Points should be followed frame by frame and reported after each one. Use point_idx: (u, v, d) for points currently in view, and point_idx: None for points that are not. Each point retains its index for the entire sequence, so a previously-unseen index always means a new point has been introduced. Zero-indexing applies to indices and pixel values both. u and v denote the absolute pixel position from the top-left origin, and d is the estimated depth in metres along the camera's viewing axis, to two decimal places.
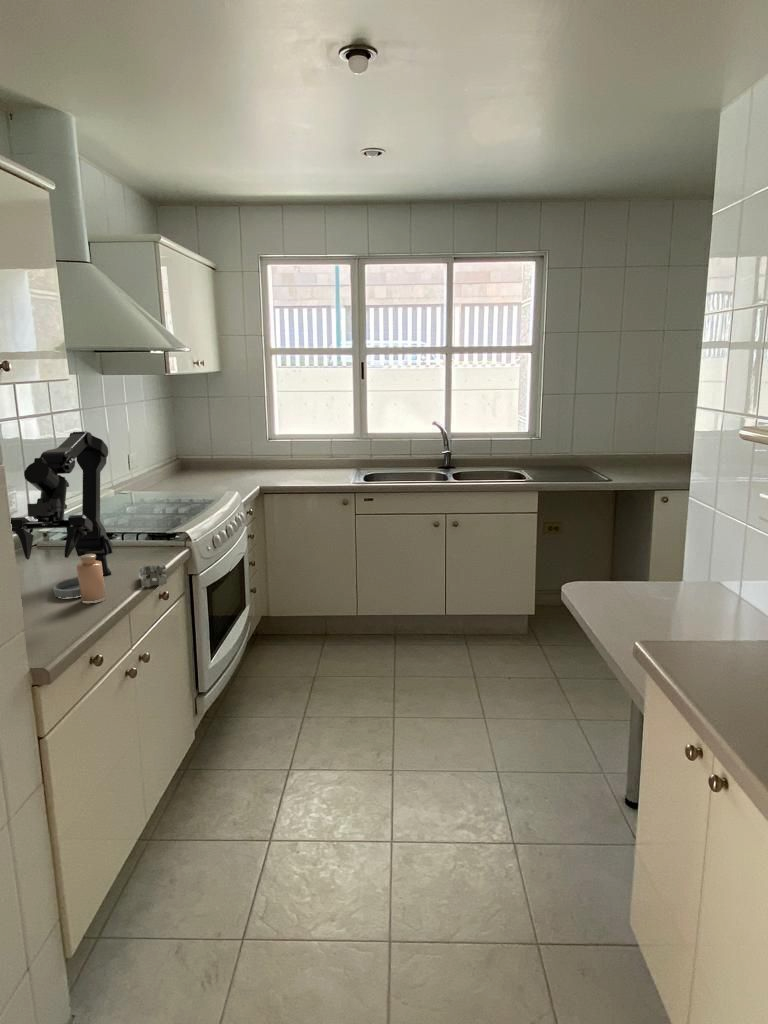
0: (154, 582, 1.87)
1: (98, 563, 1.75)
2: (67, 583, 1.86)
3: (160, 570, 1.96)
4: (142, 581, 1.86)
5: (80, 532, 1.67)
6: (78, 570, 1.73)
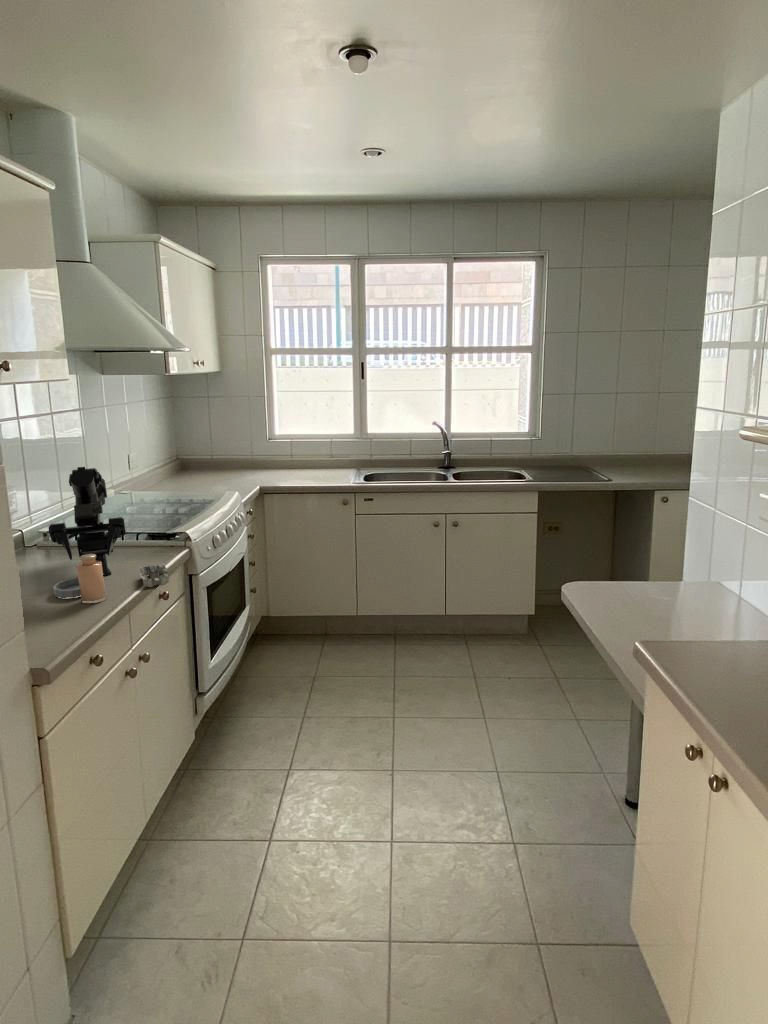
0: (157, 582, 1.88)
1: (98, 563, 1.75)
2: (67, 583, 1.86)
3: (160, 570, 1.96)
4: (144, 581, 1.86)
5: (117, 534, 1.84)
6: (78, 570, 1.73)
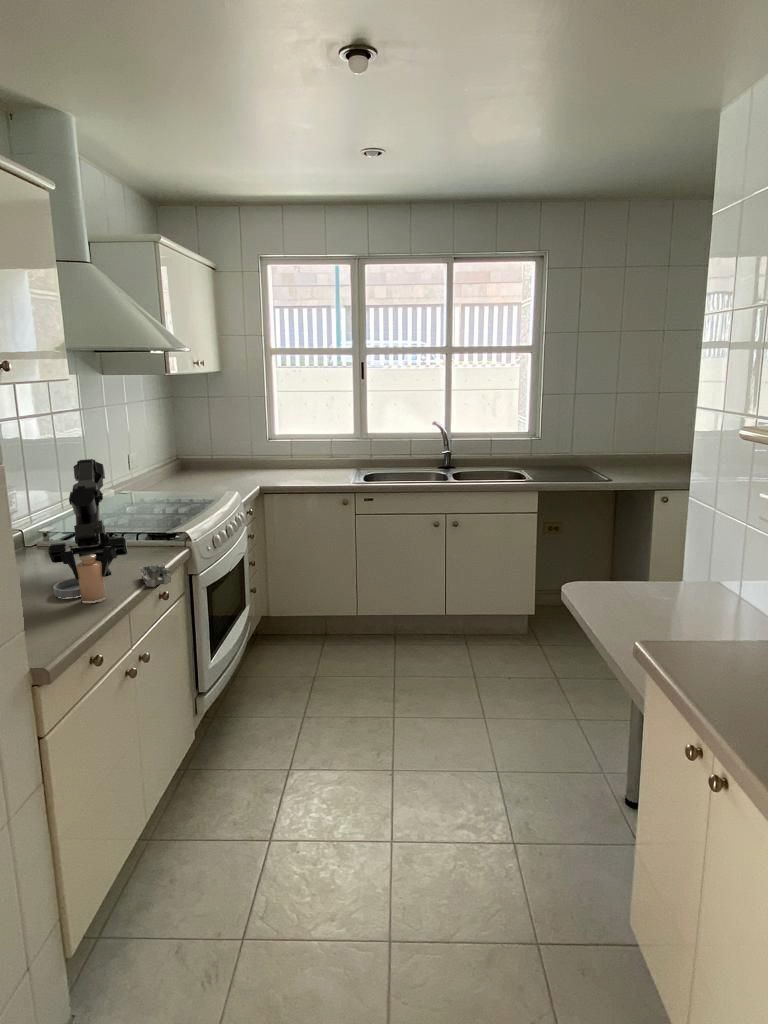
0: (159, 581, 1.88)
1: (98, 563, 1.75)
2: (67, 583, 1.86)
3: (159, 570, 1.96)
4: (147, 581, 1.86)
5: (113, 554, 1.80)
6: (78, 570, 1.73)
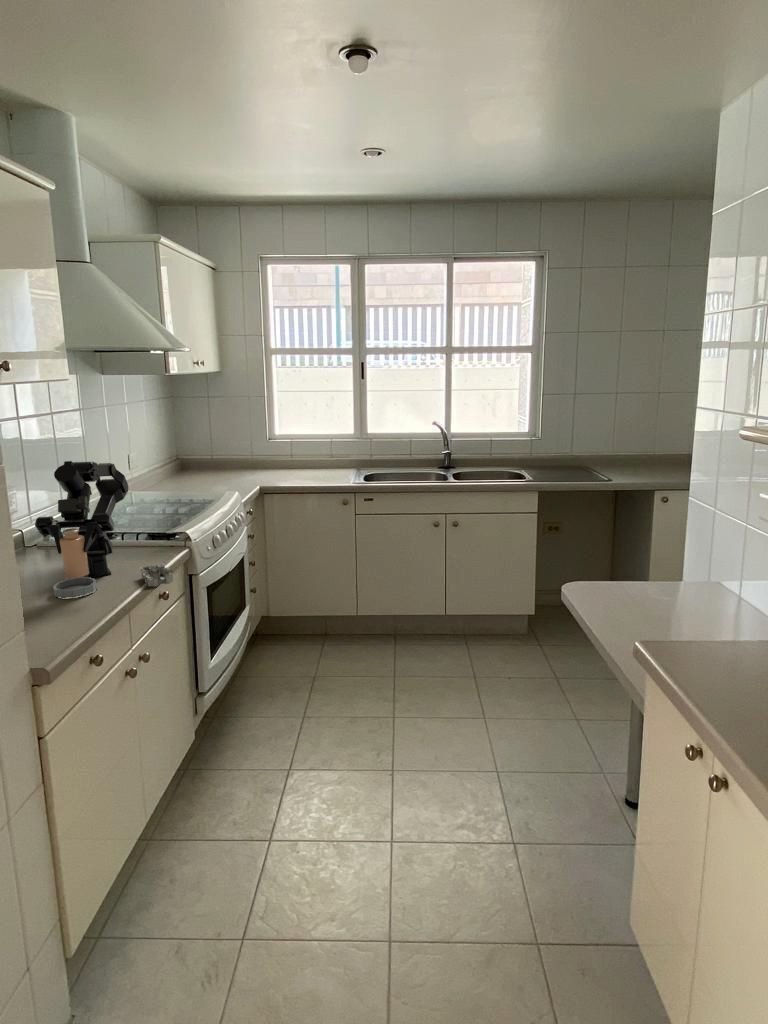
0: (161, 581, 1.88)
1: (80, 538, 1.77)
2: (67, 583, 1.86)
3: (158, 570, 1.96)
4: (149, 581, 1.86)
5: (98, 530, 1.81)
6: (60, 544, 1.76)
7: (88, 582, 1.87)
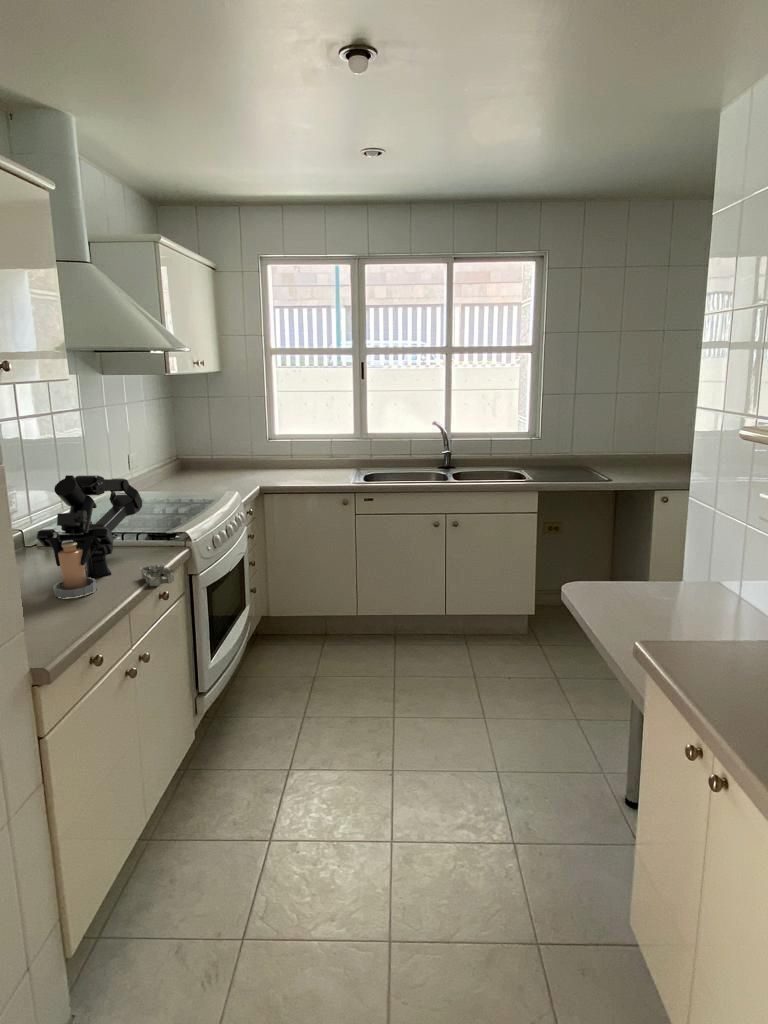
0: (163, 580, 1.88)
1: (78, 551, 1.80)
2: None
3: (158, 570, 1.96)
4: (151, 581, 1.86)
5: (96, 544, 1.84)
6: None
7: (88, 582, 1.87)
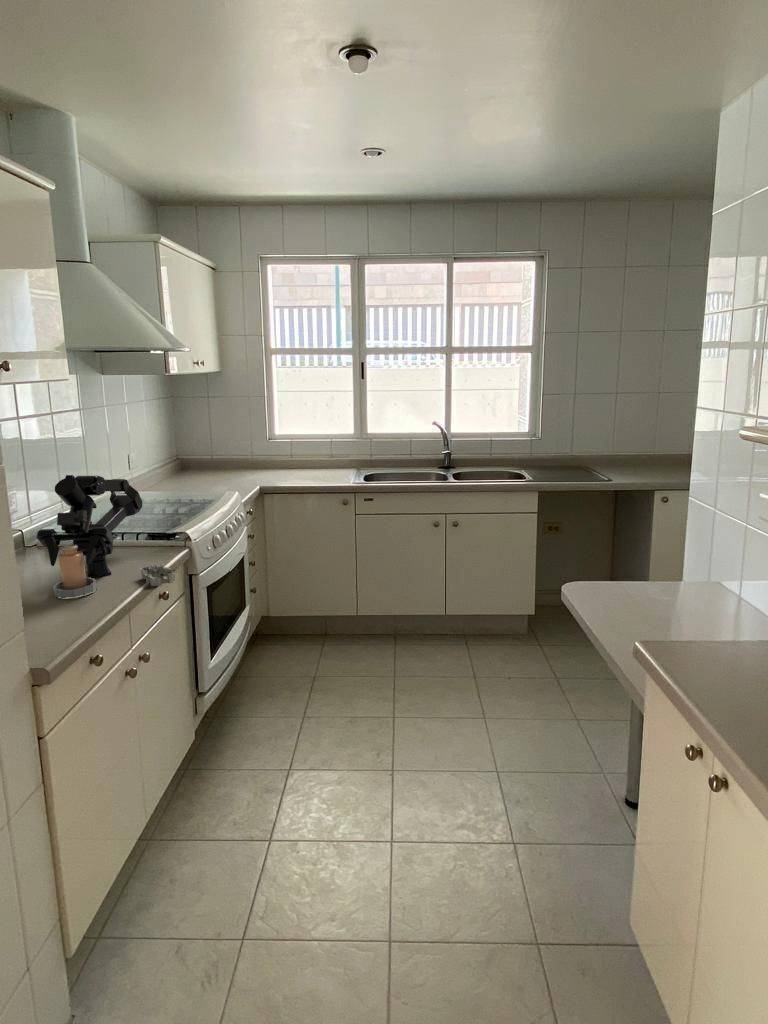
0: (164, 580, 1.89)
1: (78, 554, 1.80)
2: None
3: (157, 570, 1.96)
4: (152, 581, 1.86)
5: (102, 543, 1.84)
6: (59, 559, 1.79)
7: (88, 582, 1.87)
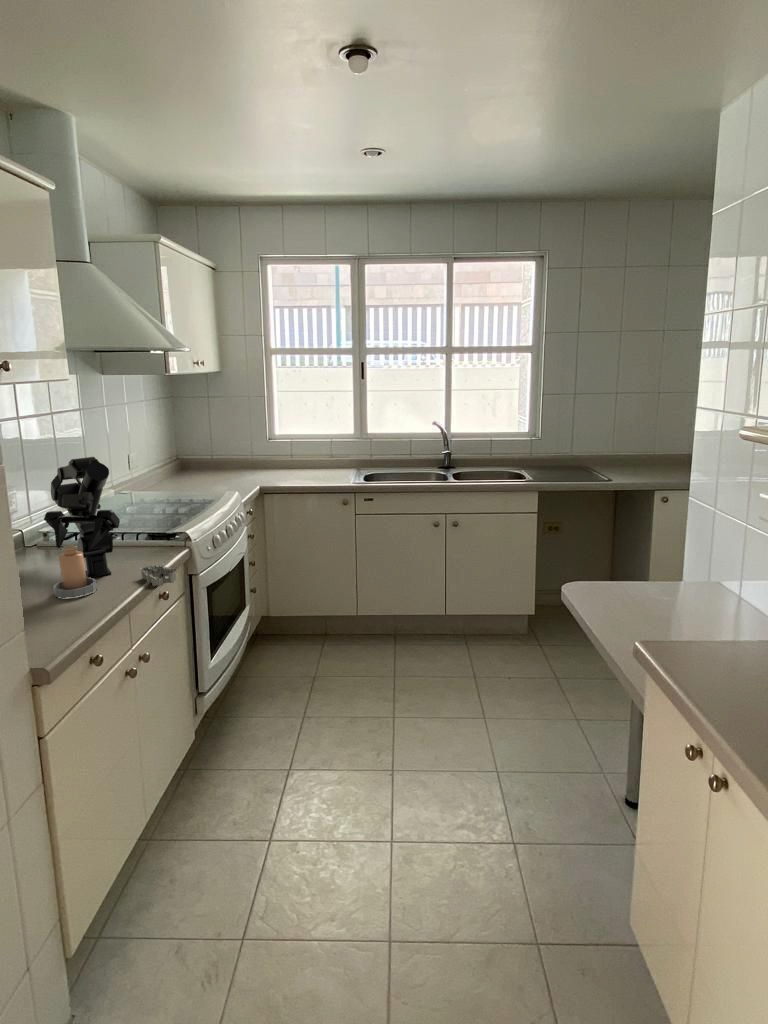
0: (165, 580, 1.89)
1: (78, 554, 1.80)
2: None
3: None
4: (154, 580, 1.87)
5: (107, 526, 1.82)
6: (59, 559, 1.79)
7: (88, 582, 1.87)
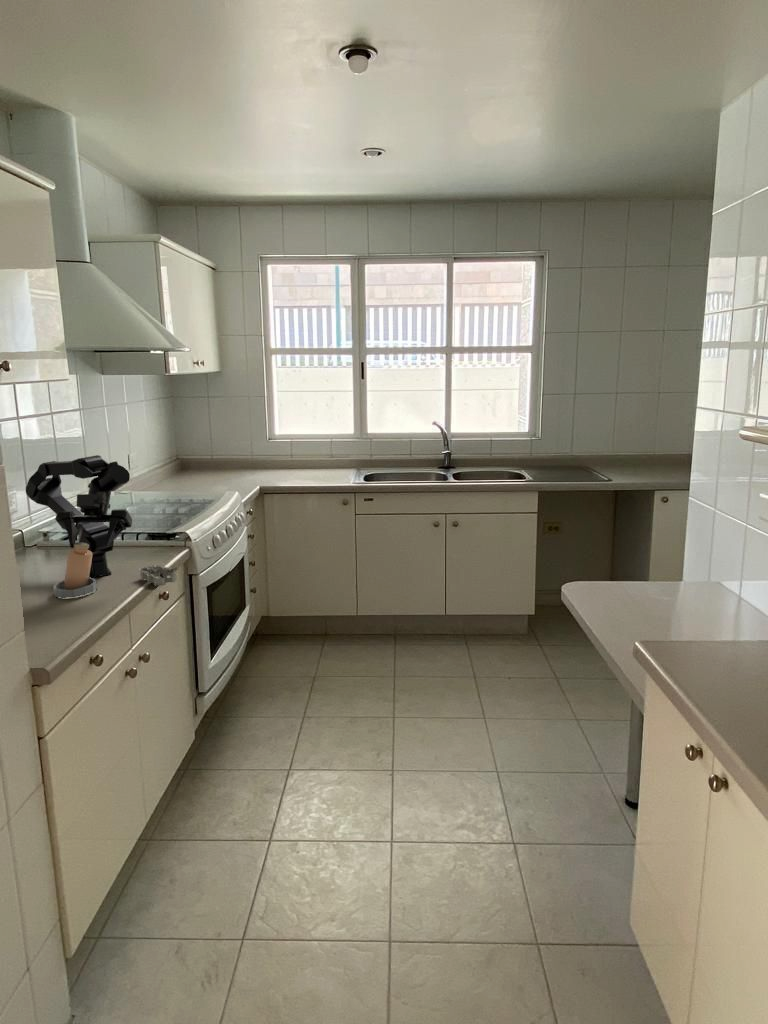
0: (166, 579, 1.89)
1: (88, 554, 1.80)
2: None
3: None
4: (156, 580, 1.87)
5: (121, 525, 1.83)
6: (68, 555, 1.79)
7: (88, 582, 1.87)
